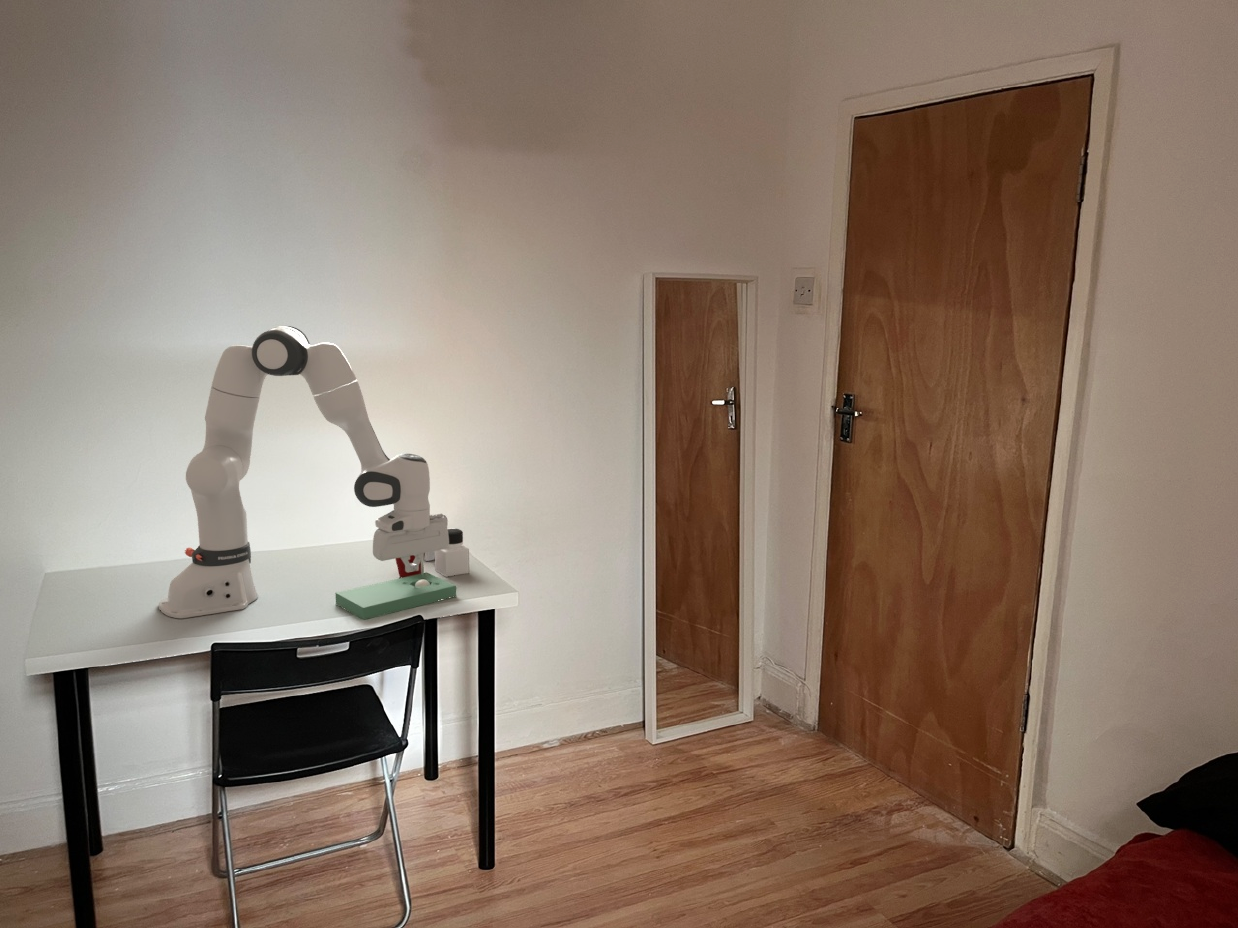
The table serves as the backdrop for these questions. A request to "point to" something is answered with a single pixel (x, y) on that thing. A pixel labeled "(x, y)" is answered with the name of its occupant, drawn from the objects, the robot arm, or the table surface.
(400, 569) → the plastic cup
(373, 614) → the putting deck
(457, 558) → the medicine bottle
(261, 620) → the table surface
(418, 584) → the ball
